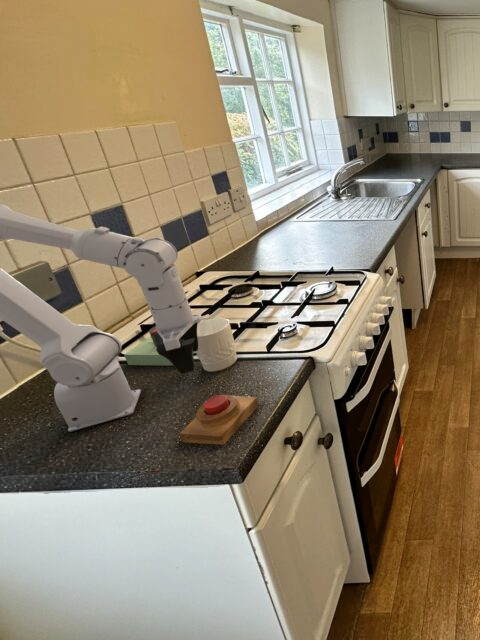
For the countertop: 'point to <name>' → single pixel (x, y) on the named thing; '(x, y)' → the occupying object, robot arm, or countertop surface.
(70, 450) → the countertop surface
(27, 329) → the robot arm
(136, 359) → the dial panel
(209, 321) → the white cup
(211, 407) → the button
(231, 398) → the button block
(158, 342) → the dial
